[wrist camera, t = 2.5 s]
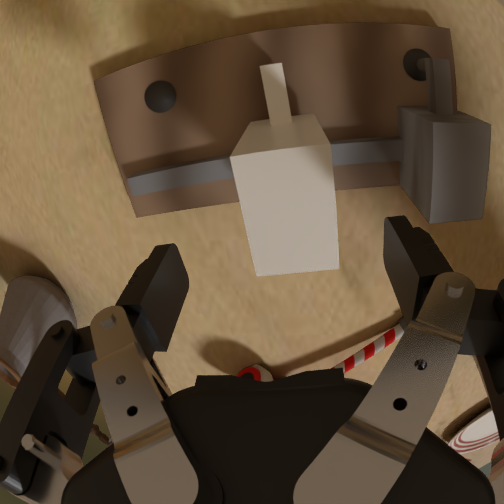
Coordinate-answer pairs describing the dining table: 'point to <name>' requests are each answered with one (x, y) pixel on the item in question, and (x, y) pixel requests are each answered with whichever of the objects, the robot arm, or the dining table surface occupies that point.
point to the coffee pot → (31, 326)
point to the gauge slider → (286, 187)
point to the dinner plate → (476, 433)
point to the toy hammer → (263, 375)
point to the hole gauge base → (301, 102)
